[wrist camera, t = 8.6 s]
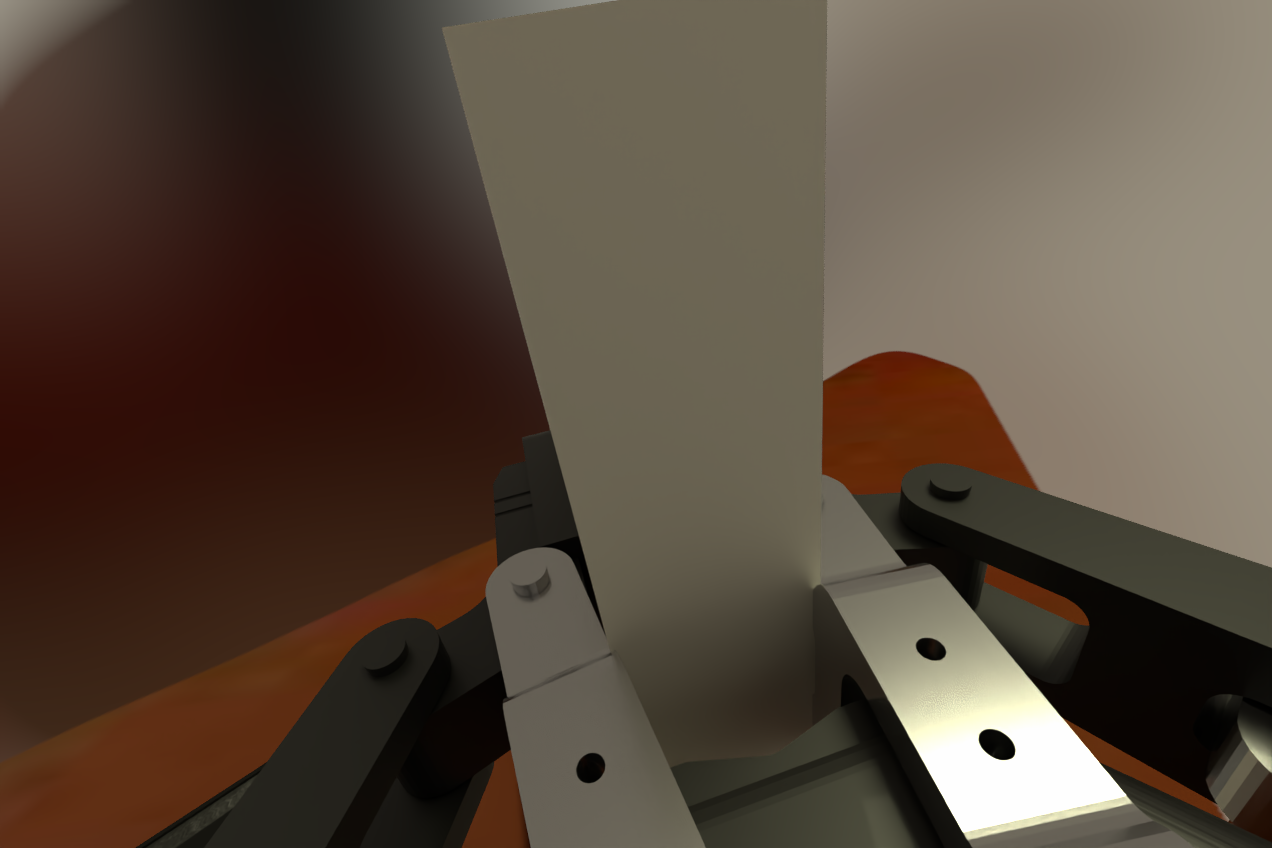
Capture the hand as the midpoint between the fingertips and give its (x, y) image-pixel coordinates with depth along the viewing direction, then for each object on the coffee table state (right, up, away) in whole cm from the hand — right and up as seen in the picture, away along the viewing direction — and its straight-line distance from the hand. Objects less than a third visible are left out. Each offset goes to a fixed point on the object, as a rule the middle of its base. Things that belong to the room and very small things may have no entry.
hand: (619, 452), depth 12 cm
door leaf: (+2, -9, +2) cm, 9 cm away
